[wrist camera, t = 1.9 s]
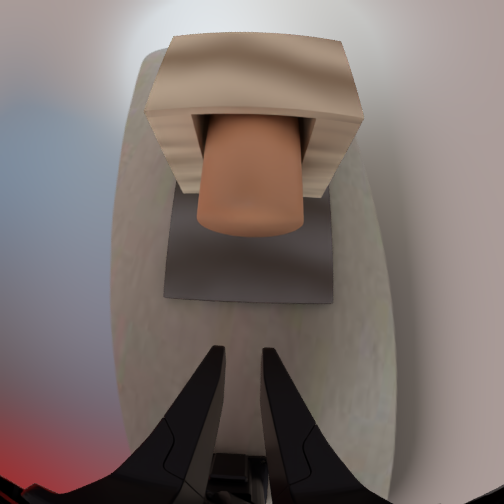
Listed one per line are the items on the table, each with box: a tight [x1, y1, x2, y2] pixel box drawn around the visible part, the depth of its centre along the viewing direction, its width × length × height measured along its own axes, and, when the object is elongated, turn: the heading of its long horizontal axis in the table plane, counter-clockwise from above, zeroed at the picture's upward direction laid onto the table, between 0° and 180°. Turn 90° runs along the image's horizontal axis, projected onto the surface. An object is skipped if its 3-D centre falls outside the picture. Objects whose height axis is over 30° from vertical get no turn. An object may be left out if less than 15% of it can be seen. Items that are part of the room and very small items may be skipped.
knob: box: [197, 114, 304, 237], centre depth 17 cm, size 7×6×6 cm
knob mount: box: [144, 32, 364, 304], centre depth 19 cm, size 18×14×12 cm
